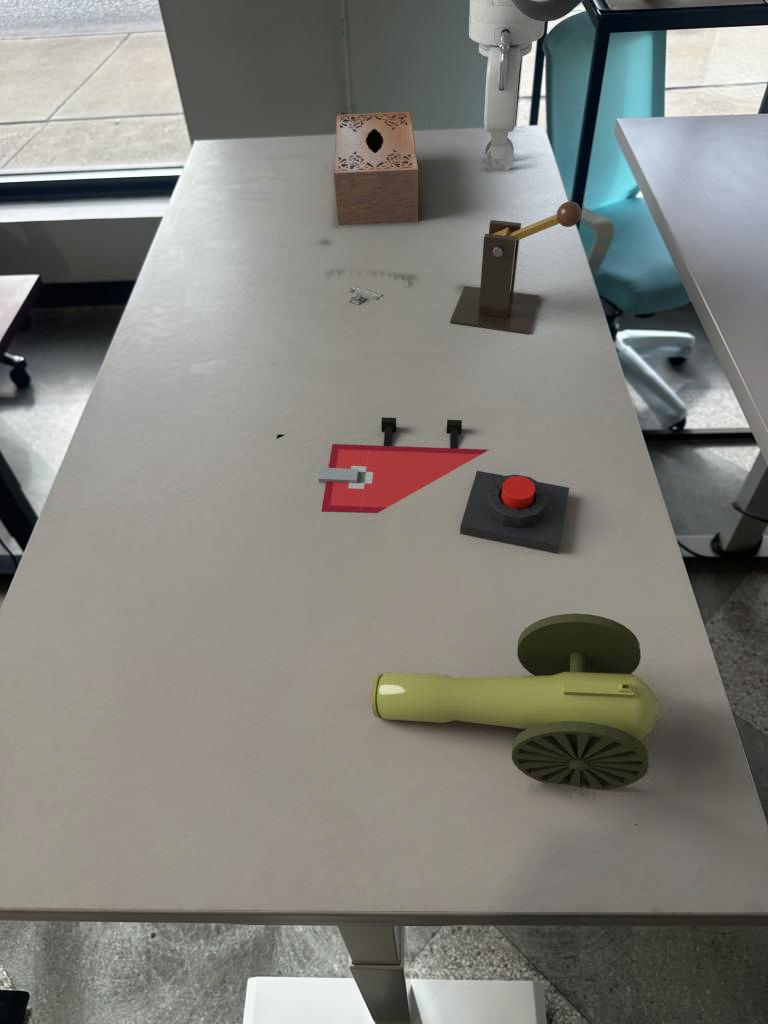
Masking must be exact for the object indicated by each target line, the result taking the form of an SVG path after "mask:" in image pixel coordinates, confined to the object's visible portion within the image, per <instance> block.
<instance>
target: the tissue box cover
mask: <svg viewBox="0 0 768 1024" xmlns="http://www.w3.org/2000/svg"><path fill="white" fill-rule="evenodd" d="M335 119H336V120H335V142H334V143H335V144H334V160H333V161H334V162H333V163H334V164H333V179H334V180H333V181H334V192H335V203H336V214H337V215H336V216H337V225H338V226H351V225H352V226H353V225H354V226H355V225H374V224H398V223H417V222H419V166H418V165H419V164H418V157H417V150H416V142H415V135H414V127H413V120H412V119H413V118H412V112H411V111H392V112H387V111H386V112H369V113H368V112H367V113H350V114H349V113H346V114H336V118H335Z"/></svg>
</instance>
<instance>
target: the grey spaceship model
mask: <svg viewBox="0 0 768 1024" xmlns="http://www.w3.org/2000/svg"><path fill="white" fill-rule="evenodd" d="M347 291H348V292H349V293H353V292H354V291H358V292H356V293H354V294H353V295H352V296H351V299H350V300H348V302H349V303H352V304H355V305H358V306H359V305H361V304H362V303H363V302H364V301H365V300H366V298H365V297H363V294H361V293H360V292H362V293H364V294H367V295H370V296H373V298H372V300H374V301H378V300H379V299H380V298H381V297H382V296H383V294H381V293H378V292H375V291H372V290H369V289H366V288H362V287H360V286H356V285H352V287H351V288H349V290H347Z"/></svg>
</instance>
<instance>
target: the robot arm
mask: <svg viewBox="0 0 768 1024" xmlns="http://www.w3.org/2000/svg"><path fill="white" fill-rule="evenodd" d="M582 2H584V0H469V13H468V14H469V16H468V20H469V21H468V37H469V38H470V40H471V41H473V42H475V43H478V52H479V54H480V55H481V56H483V57H485V58H487V63H486V75H485V91H484V116H483V128H484V131H485V132H486V133H490V140H491V143H492V147H491V157H492V158H493V159H503V158H505V155H506V143H507V138H509V137H508V136H509V133H513V132H514V130H515V128H516V121H517V105H518V93H519V79H520V69H521V63H522V58H523V57H524V56H527V55H529V54H530V53H531V52H532V50H533V42H537V41H538V40H540V39H541V38H542V37H543V36H544V34H545V25H546V22H553V21H557V20H560V19H562V18H564V17H566V16H567V15H569V14H570V13H572V12H573V11H574V10H575V9H576V8H578V6H579V5H580V4H582Z"/></svg>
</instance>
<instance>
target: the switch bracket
mask: <svg viewBox="0 0 768 1024" xmlns="http://www.w3.org/2000/svg"><path fill="white" fill-rule="evenodd" d="M506 228H509V229H510V232H511V233H512V232H515V231H517V230H519V229H522V223H521V222H513V221H506V220H495V219H490V221H489V224H488V233H484V236H483V243H482V244H483V246H482V260H481V273H480V286H479V287H476V286H469V285H464V286H463V288H462V291H461V294H460V296H459V298H458V300H457V303H456V306H455V307H454V311H453V312H452V315H451V317H450V320H449V324H451V325H457V326H465V327H472V328H479V329H486V330H493V331H499V332H507V333H515V334H522V335H527V336H530V333H531V329H532V326H533V323H534V319H535V316H536V312H537V308H538V305H539V301H540V298H541V297H540V295H539V294H538V295H537V294H531V293H523V292H515V285H516V275H517V267H518V258H519V248H520V242H521V241H520V240H521V239H520V240H518V241H516V237H511V236H503V235H494V233H496V232H499V231H501V230H503V229H506Z"/></svg>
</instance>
